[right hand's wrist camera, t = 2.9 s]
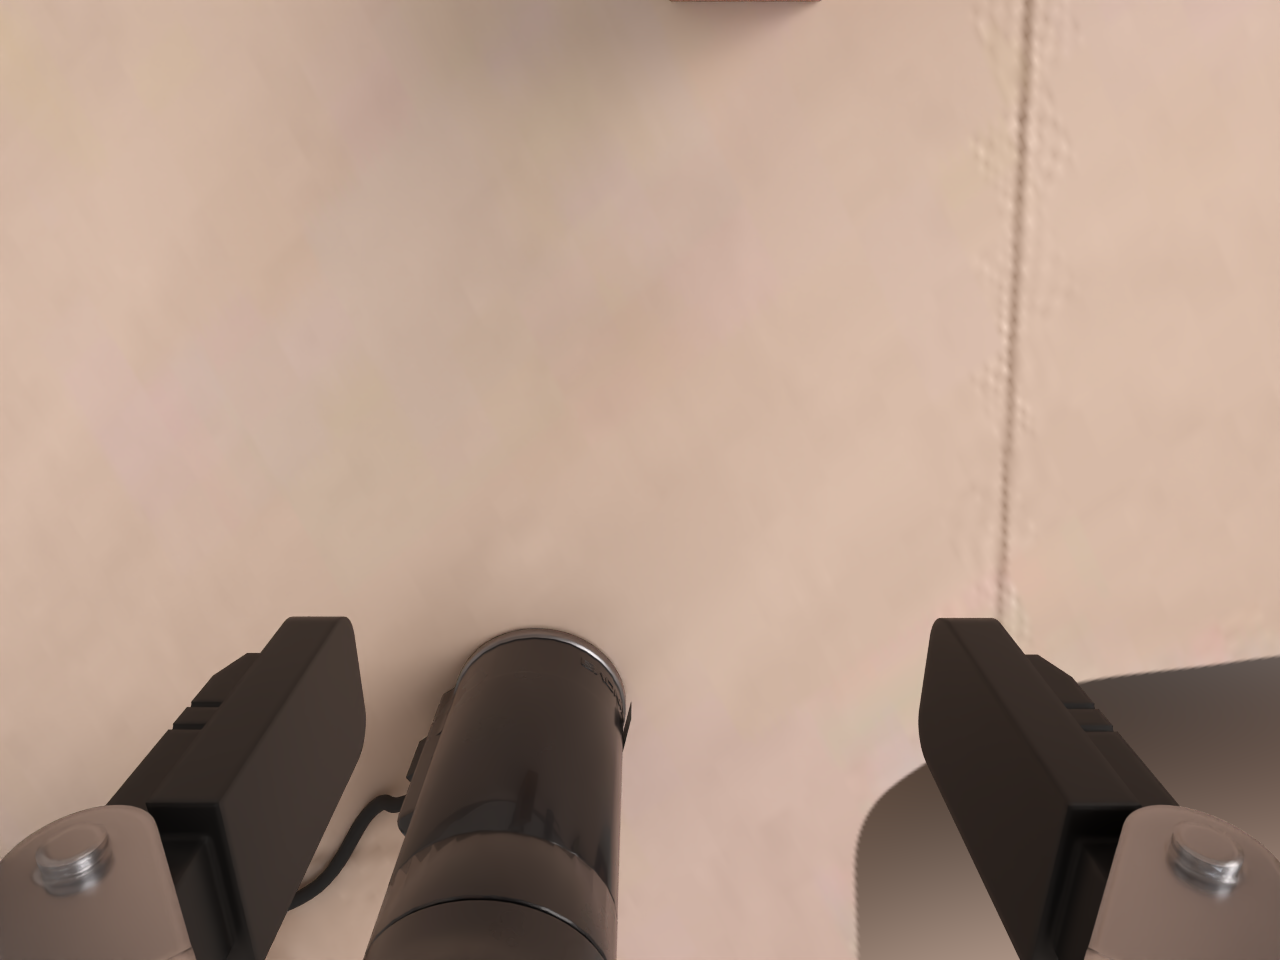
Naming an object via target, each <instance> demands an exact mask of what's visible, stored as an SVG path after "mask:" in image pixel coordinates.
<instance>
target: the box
mask: <svg viewBox="0 0 1280 960" xmlns="http://www.w3.org/2000/svg"><path fill="white" fill-rule="evenodd" d="M670 1H821V0H670Z"/></svg>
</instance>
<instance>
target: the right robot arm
mask: <svg viewBox="0 0 1280 960" xmlns="http://www.w3.org/2000/svg"><path fill="white" fill-rule="evenodd" d="M625 710H626V698H625V691H624V687H623V684H622V681H621V678H620V676H619V674H618V672H617V670H616V669H615V667H614V666H613V664H612V663H611V662H610V660H609V659H608V658H607V657H606V656H605V655H604V654H603V653H602V652H601V651H599V650H598V649H597V648H596V647H594V646H593V645H591V644H590V643H588V642H586V641H585V640H583V639H581V638H579V637H576V636H574V635H571V634H568V633H565V632H561V631H556V630H551V629H523V630H517V631H513V632H509V633H506V634H503V635H500V636H498V637H496V638H494V639H492V640H490V641H489V642H487V643H485V644H484V645H483V646H481V647H480V648H479V649H478V650H477V651H475V652H474V653H473V655H472V656H471V657H470V658H469V659H468V661H467V662H466V663H465V665H464V667H463V668H462V670H461V673H460V675H459V677H458V680H457V683H456V686H455V688H454V689H452V690H451V691H449V692H447V693H445V694H444V695H443V696H442V699H441V701H440V704H439V707H438V710H437V712H436V715H435V718H434V720H433V723H432V726H431V729H430V731H429V734H428V737H426V738H425V739H423V740H421V741H420V742H419V745H418V747H417V750H416V753H415V755H414V758H413V761H412V763H411V766H410V768H409V771H408V774H407V776H406V778H407V779H408V780H409V781H410V782H411V783H410V786H409V788H408V791H407V794H406V795H404V796H401V797H392V796H390V795H381V796H378V797H376V798H375V799H374V800H373V801H371V802H370V803H369V804H368V805H367V806H366V807H365V808H364V809H363V811H362V812H361V813H360V814H359V816H358V817H357V818H356V820H355V822H354V823H353V825H352V826H351V828H350V830H349V832H348V834H347V835H346V837H345V839H344V841H343V843H342V845H341V846H340V848H339V850H338V852H337V853H336V855H335V857H334V858H333V860H332V861H331V863H330V864H329V866H328V867H327V868H326V869H325V871H324V872H323V873H322V874H321V875H320V876H319V877H318V878H317V879H316V880H314V881H313V882H312V883H310V884H309V885H307V886H306V887H304V888H303V889H301V890H299V891H297V890H298V887H299V885H300V883H301V881H302V879H303V877H304V875H305V873H306V870H307V868H308V866H309V864H310V862H311V860H312V858H313V855H314V853H315V851H316V849H317V847H318V845H319V843H320V841H321V838H322V836H323V834H324V832H325V830H326V828H327V826H328V824H329V821H330V819H331V817H332V815H333V813H334V811H335V809H336V806H337V804H338V802H339V800H340V798H341V796H342V794H343V792H344V789H345V787H346V785H347V783H348V781H349V779H350V777H351V775H352V772H353V770H354V768H355V766H356V764H357V762H358V759H359V757H360V754H361V751H362V747H363V743H364V737H365V727H366V713H365V705H364V698H363V691H362V684H361V677H360V670H359V663H358V657H357V650H356V643H355V636H354V630H353V627H352V624H351V622H350V620H349V619H348V618H347V617H289V618H288V619H287V620H286V621H285V622H284V623H283V624H282V626H281V627H280V628H279V629H278V631H277V632H276V633H275V635H274V636H273V637H272V639H271V640H270V641H269V642H268V644H267V645H266V646H265V648H264V649H263V650H262V652H261V653H247V654H245V655H244V656H242V657H241V658H239V659H237V660H236V661H234V662H233V663H231V664H230V665H228V666H227V667H225V668H224V669H222V670H221V671H219V672H218V673H216V674H215V675H213V676H212V678H211V679H210V680H209V681H208V682H207V684H206V685H205V686H204V687H203V688H202V690H201V691H200V692H199V693H198V694H197V696H196V697H195V698H194V699H193V701H192V702H191V707H187V708H186V709H185V710H184V711H183V713H182V714H181V715H180V716H179V717H178V719H177V720H176V721H175V722H174V723H173V729H172V730H168V731H167V732H166V733H165V734H164V736H163V737H162V738H161V739H160V740H159V742H158V743H157V744H156V745H155V746H154V748H153V749H152V750H151V751H150V752H149V754H148V755H147V756H146V757H145V759H144V760H143V761H142V762H141V763H140V765H139V766H138V767H137V768H136V769H135V771H134V772H133V773H132V774H131V775H130V777H129V778H128V779H127V780H126V781H125V783H124V784H123V785H122V786H121V788H120V789H119V790H118V791H117V792H116V794H115V795H114V796H113V797H112V798H111V800H110V801H109V802H108V803H107V804H106V806H100V807H95V808H90V809H86V810H82V811H79V812H76V813H73V814H70V815H68V816H65V817H63V818H61V819H58V820H56V821H54V822H52V823H50V824H48V825H46V826H44V827H42V828H41V829H39V830H38V831H36V832H34V833H33V834H31V835H30V836H28V837H27V838H26V839H24V840H23V841H22V842H20V843H19V844H18V845H16V846H15V847H14V848H13V849H12V850H11V851H10V852H9V853H8V854H7V855H6V856H5V857H4V858H3V859H2V861H1V862H0V960H265V958H266V956H267V954H268V951H269V949H270V947H271V945H272V943H273V941H274V939H275V936H276V934H277V932H278V930H279V928H280V926H281V924H282V922H283V919H284V917H285V915H286V913H287V911H289V910H292V909H294V908H296V907H298V906H300V905H302V904H304V903H305V902H307V901H309V900H311V899H312V898H314V897H315V896H316V895H318V894H319V893H321V892H322V891H323V890H324V889H325V888H326V887H327V886H328V885H329V884H330V883H331V882H332V881H333V880H334V879H335V877H336V876H337V875H338V874H339V873H340V871H341V870H342V868H343V867H344V866H345V864H346V862H347V861H348V859H349V858H350V856H351V854H352V852H353V851H354V849H355V847H356V845H357V843H358V842H359V840H360V838H361V836H362V834H363V833H364V831H365V829H366V828H367V826H368V824H369V823H370V822H371V820H372V819H373V818H374V817H375V816H376V815H377V814H379V813H380V812H381V811H383V810H386V811H388V812H391V813H397V812H400V813H399V816H398V821H397V822H398V827H399V830H400V831H401V832H402V834H403V835H404V836H405V839H404V842H403V845H402V847H401V850H400V853H399V856H398V859H397V862H396V865H395V868H394V871H393V873H392V876H391V879H390V882H389V885H388V889H387V892H386V895H385V897H384V900H383V903H382V906H381V909H380V912H379V915H378V918H377V921H376V923H375V926H374V929H373V932H372V935H371V938H370V941H369V944H368V947H367V949H366V952H365V956H364V958H363V960H616V958H617V924H618V922H617V917H618V883H619V850H620V816H621V782H622V752H623V748H624V745H625V741H626V737H627V733H628V729H629V725H630V721H631V704H630V708H629V712H628V716H627V720H626V723H625V727H624V731H623V726H624V722H625ZM918 725H919V737H920V743H921V748H922V752H923V755H924V758H925V761H926V763H927V765H928V767H929V769H930V771H931V773H932V775H933V778H934V780H935V782H936V784H937V786H938V788H939V790H940V792H941V794H942V797H943V799H944V801H945V803H946V805H947V807H948V809H949V811H950V813H951V815H952V818H953V820H954V822H955V824H956V826H957V828H958V830H959V832H960V834H961V836H962V839H963V841H964V843H965V845H966V847H967V849H968V851H969V853H970V855H971V858H972V860H973V862H974V864H975V866H976V868H977V870H978V872H979V874H980V877H981V879H982V881H983V883H984V885H985V887H986V889H987V891H988V893H989V895H990V898H991V900H992V902H993V904H994V906H995V908H996V910H997V912H998V914H999V917H1000V919H1001V921H1002V923H1003V925H1004V927H1005V929H1006V931H1007V933H1008V935H1009V938H1010V940H1011V942H1012V944H1013V946H1014V948H1015V950H1016V952H1017V954H1018V956H1019V958H1020V960H1280V862H1279V861H1278V859H1277V858H1276V857H1275V856H1274V855H1273V854H1272V853H1271V852H1270V851H1269V850H1268V849H1267V848H1266V847H1265V846H1264V845H1262V844H1261V843H1260V842H1258V841H1257V840H1256V839H1254V838H1253V837H1252V836H1250V835H1249V834H1247V833H1246V832H1244V831H1242V830H1241V829H1239V828H1238V827H1236V826H1234V825H1232V824H1230V823H1228V822H1226V821H1224V820H1222V819H1219V818H1217V817H1215V816H1212V815H1210V814H1207V813H1204V812H1201V811H1198V810H1194V809H1190V808H1185V807H1180V806H1179V805H1178V803H1177V802H1176V801H1175V800H1174V799H1173V798H1172V796H1171V795H1170V794H1169V793H1168V792H1167V790H1166V789H1165V788H1164V787H1163V785H1162V784H1161V783H1160V782H1159V781H1158V780H1157V778H1156V777H1155V776H1154V775H1153V773H1152V772H1151V771H1150V770H1149V769H1148V768H1147V766H1146V765H1145V764H1144V763H1143V762H1142V760H1141V759H1140V758H1139V757H1138V756H1137V754H1136V753H1135V752H1134V751H1133V750H1132V748H1131V747H1130V746H1129V745H1128V744H1127V742H1126V741H1125V740H1124V739H1123V738H1122V736H1121V735H1120V734H1119V733H1118V732H1114V731H1113V726H1112V724H1111V723H1110V722H1109V721H1108V720H1107V718H1106V717H1105V716H1104V715H1103V714H1102V712H1101V711H1100V710H1099V709H1095V708H1094V703H1093V702H1092V700H1091V699H1090V698H1089V697H1088V696H1087V694H1086V693H1085V692H1084V691H1083V690H1082V688H1081V687H1080V686H1079V685H1078V684H1077V682H1076V681H1075V680H1074V679H1073V678H1072V677H1071V676H1069V675H1068V674H1066V673H1065V672H1063V671H1062V670H1060V669H1059V668H1057V667H1056V666H1054V665H1053V664H1051V663H1050V662H1048V661H1047V660H1045V659H1044V658H1042V657H1041V656H1039V655H1025V654H1024V653H1023V652H1022V650H1021V649H1020V648H1019V646H1018V645H1017V644H1016V643H1015V641H1014V640H1013V639H1012V637H1011V636H1010V635H1009V634H1008V632H1007V631H1006V630H1005V628H1004V627H1003V626H1002V625H1001V623H1000V622H999V621H998V620H996V619H994V618H938V619H937V620H936V621H935V622H934V624H933V626H932V629H931V634H930V640H929V647H928V653H927V660H926V667H925V674H924V681H923V687H922V694H921V701H920V708H919V719H918Z"/></svg>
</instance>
